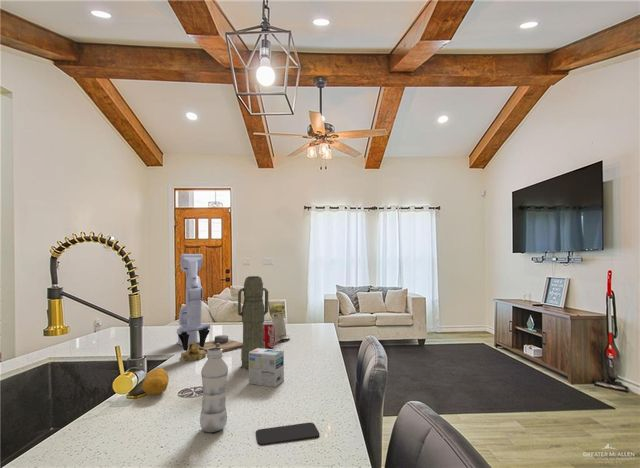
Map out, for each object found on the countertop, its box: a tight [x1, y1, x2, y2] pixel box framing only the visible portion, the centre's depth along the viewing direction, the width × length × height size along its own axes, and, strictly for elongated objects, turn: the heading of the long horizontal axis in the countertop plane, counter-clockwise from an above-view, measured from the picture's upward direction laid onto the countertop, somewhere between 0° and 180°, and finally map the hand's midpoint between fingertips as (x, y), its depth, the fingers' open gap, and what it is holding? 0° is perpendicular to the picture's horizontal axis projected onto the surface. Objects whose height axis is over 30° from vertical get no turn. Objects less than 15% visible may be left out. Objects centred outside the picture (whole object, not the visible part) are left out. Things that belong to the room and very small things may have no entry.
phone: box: [255, 422, 321, 446], centre depth 90 cm, size 7×1×15 cm
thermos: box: [237, 275, 269, 370], centre depth 145 cm, size 9×12×35 cm
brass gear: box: [180, 341, 207, 362], centre depth 156 cm, size 10×10×6 cm
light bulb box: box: [247, 348, 285, 388], centre depth 126 cm, size 11×7×11 cm, turn 71°
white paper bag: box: [268, 302, 291, 344], centre depth 187 cm, size 12×13×18 cm
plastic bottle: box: [199, 348, 229, 433], centre depth 93 cm, size 6×7×20 cm
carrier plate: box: [199, 334, 243, 354], centre depth 172 cm, size 18×18×4 cm
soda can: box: [263, 321, 276, 350], centre depth 169 cm, size 7×7×12 cm
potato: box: [141, 367, 170, 396], centre depth 117 cm, size 8×14×7 cm, turn 23°
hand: (193, 348), depth 156 cm, fingers open, 7 cm apart
